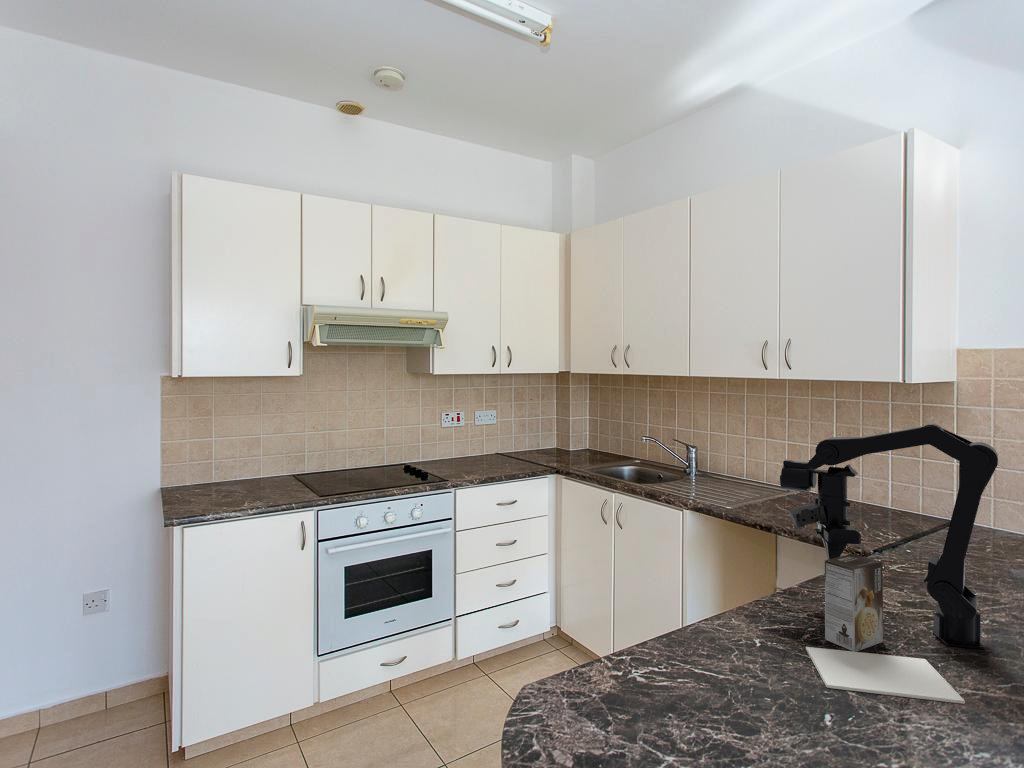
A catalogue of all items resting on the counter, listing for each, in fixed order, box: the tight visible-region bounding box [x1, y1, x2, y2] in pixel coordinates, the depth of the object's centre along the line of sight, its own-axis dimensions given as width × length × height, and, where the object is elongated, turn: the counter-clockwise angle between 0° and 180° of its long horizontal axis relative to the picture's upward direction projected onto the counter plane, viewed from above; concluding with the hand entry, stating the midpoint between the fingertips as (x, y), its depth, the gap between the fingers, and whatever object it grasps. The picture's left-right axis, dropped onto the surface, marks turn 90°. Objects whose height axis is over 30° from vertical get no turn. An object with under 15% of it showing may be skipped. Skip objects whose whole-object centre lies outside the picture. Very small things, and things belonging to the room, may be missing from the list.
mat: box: [805, 646, 966, 705], centre depth 101 cm, size 20×14×1 cm
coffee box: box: [824, 553, 884, 652], centre depth 114 cm, size 9×6×16 cm
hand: (831, 564), depth 128 cm, fingers closed
